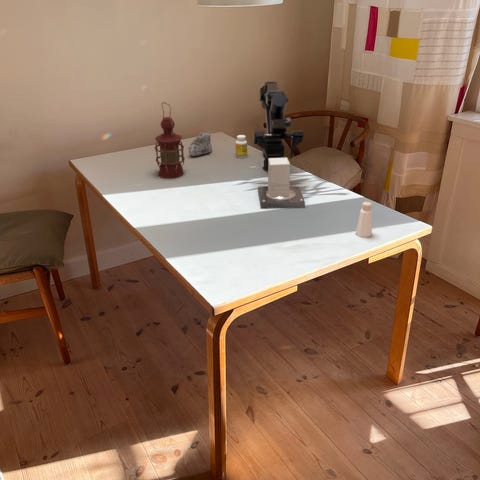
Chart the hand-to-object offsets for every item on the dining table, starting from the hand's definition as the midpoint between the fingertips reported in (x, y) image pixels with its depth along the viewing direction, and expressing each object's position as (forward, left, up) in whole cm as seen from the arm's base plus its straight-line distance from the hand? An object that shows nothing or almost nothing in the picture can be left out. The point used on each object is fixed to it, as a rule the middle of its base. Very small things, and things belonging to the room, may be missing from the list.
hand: (279, 157), depth 198 cm
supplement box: (+5, +6, -11) cm, 14 cm away
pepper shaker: (-2, +45, -14) cm, 47 cm away
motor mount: (+4, +7, -14) cm, 16 cm away
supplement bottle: (-10, -43, -14) cm, 46 cm away
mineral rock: (+4, -57, -14) cm, 59 cm away
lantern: (+27, -40, -14) cm, 50 cm away
